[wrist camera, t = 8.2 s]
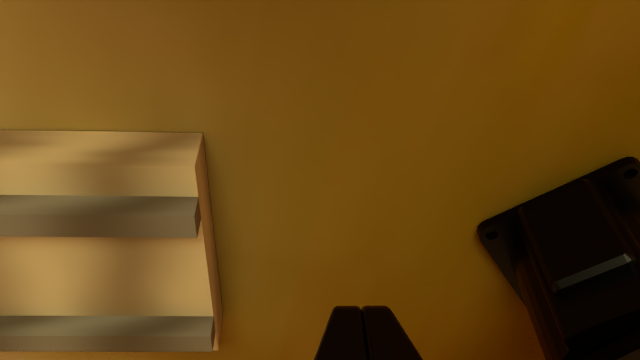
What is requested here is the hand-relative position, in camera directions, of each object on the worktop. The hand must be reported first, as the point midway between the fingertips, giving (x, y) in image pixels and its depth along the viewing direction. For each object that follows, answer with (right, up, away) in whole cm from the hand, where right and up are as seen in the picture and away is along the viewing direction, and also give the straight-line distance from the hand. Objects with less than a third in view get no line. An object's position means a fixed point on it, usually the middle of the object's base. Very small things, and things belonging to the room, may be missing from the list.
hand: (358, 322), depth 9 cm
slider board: (-14, 0, +15) cm, 21 cm away
